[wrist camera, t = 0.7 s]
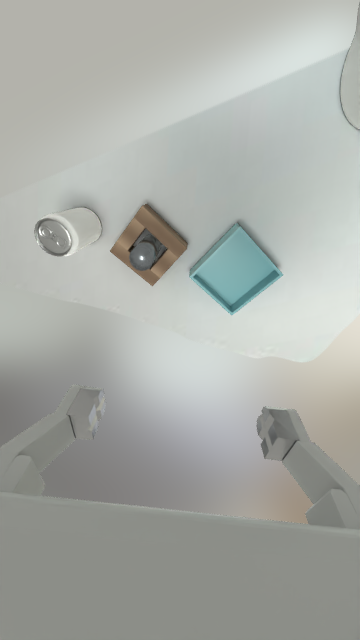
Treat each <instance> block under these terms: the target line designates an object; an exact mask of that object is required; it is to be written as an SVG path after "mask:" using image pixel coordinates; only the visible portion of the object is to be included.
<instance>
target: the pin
mask: <svg viewBox="0 0 360 640" xmlns="http://www.w3.org/2000/svg"><path fill="white" fill-rule="evenodd" d="M160 249H161V242H160V241H159V240H158V239H157V238H156V237H155V236H154V235H147V236H145V237H144V238H143V239H142V240H141V241H140V242H139V243H138V244H137V246H136V247H135V248H134V249H133V250H132V251H131V252H130V255H129V260H130V263H131V265H132V266H133V267H134V268H135V269H137V270H140V271H145V270H148V269H149V268H150V267H151V266H152V264H153V262H154V260H155V258H156V256H157V255H158V253H159V251H160Z"/></svg>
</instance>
